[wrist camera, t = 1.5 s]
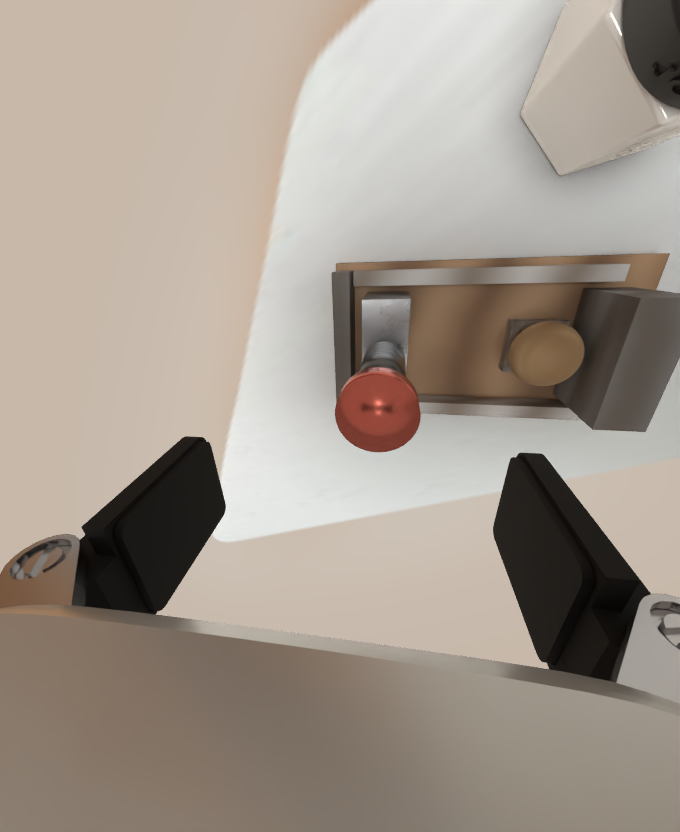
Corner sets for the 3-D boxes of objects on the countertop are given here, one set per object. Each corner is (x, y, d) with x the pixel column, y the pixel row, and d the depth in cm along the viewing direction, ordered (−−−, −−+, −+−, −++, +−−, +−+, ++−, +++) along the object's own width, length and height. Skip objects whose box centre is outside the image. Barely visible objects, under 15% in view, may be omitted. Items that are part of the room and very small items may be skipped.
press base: (656, 253, 22) (763, 252, 15) (598, 411, 27) (659, 459, 21) (338, 263, 25) (318, 266, 19) (342, 401, 31) (328, 440, 24)
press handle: (414, 290, 24) (428, 325, 12) (407, 390, 27) (413, 490, 16) (363, 291, 24) (331, 325, 13) (363, 388, 28) (338, 484, 16)
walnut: (573, 315, 23) (609, 328, 19) (556, 374, 25) (586, 397, 21) (507, 316, 23) (529, 328, 19) (495, 373, 25) (513, 394, 21)
